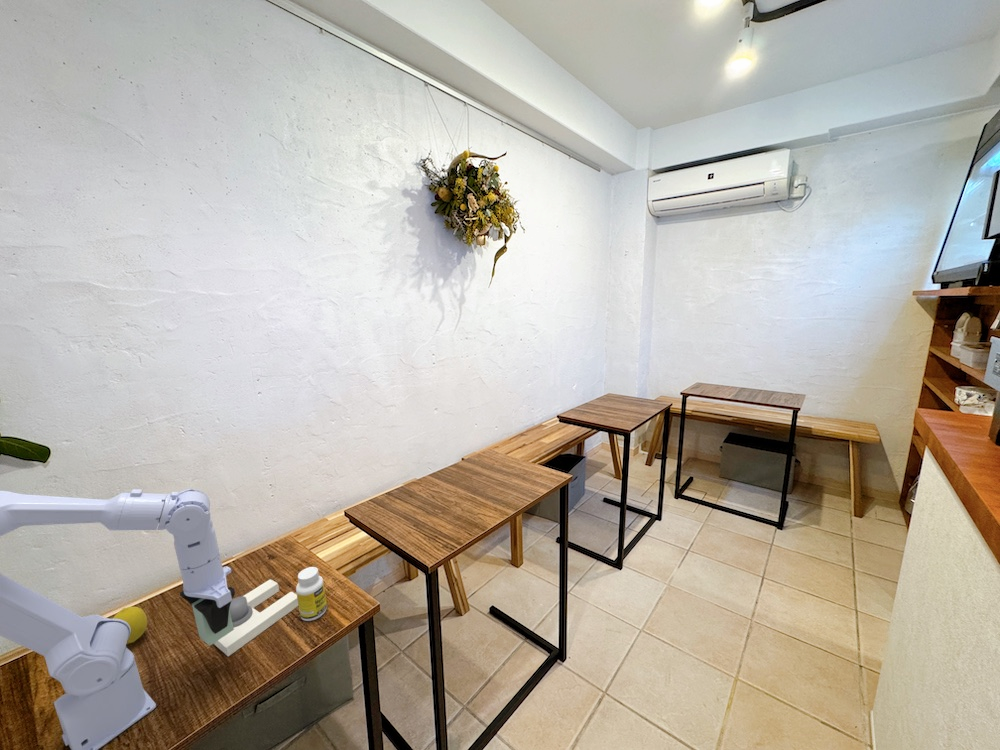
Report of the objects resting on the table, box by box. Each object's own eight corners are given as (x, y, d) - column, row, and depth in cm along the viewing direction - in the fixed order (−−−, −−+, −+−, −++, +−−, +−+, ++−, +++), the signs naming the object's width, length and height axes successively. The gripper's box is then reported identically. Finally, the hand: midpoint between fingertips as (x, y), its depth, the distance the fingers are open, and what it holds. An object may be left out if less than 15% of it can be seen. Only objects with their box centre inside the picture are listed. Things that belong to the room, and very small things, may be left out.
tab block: (209, 646, 70) (201, 612, 68) (199, 637, 72) (191, 603, 70) (233, 629, 73) (226, 597, 71) (223, 621, 75) (216, 589, 74)
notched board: (228, 656, 76) (222, 632, 75) (200, 632, 82) (194, 609, 81) (300, 603, 88) (297, 582, 87) (271, 586, 95) (267, 566, 93)
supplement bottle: (320, 621, 83) (313, 581, 81) (295, 622, 83) (288, 582, 81) (331, 602, 88) (325, 563, 86) (308, 603, 88) (301, 564, 87)
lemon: (146, 626, 84) (138, 594, 83) (154, 638, 81) (145, 605, 80) (111, 645, 80) (101, 612, 78) (118, 658, 77) (108, 624, 75)
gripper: (244, 557, 69) (257, 624, 71) (207, 535, 76) (220, 596, 79) (197, 583, 63) (214, 654, 66) (162, 556, 71) (178, 620, 73)
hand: (214, 624), depth 72 cm, fingers closed on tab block, 4 cm apart
